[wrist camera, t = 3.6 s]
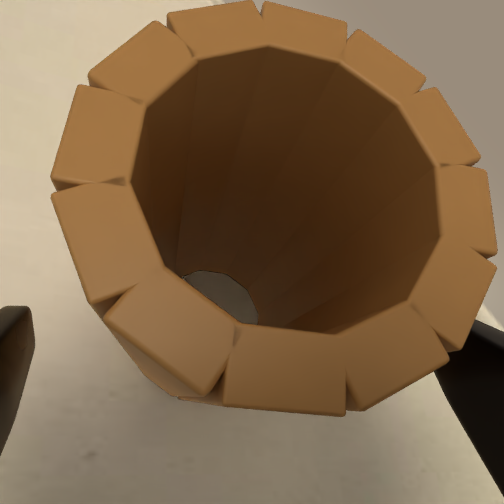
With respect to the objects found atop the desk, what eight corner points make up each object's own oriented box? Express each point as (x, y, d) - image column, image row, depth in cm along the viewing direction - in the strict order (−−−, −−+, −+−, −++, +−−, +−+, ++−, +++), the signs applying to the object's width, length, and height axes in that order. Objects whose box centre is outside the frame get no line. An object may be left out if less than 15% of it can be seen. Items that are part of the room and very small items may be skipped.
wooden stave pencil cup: (302, 360, 18) (572, 292, 6) (162, 429, 16) (168, 528, 4) (242, 232, 20) (369, -21, 8) (106, 281, 18) (-8, 38, 6)
